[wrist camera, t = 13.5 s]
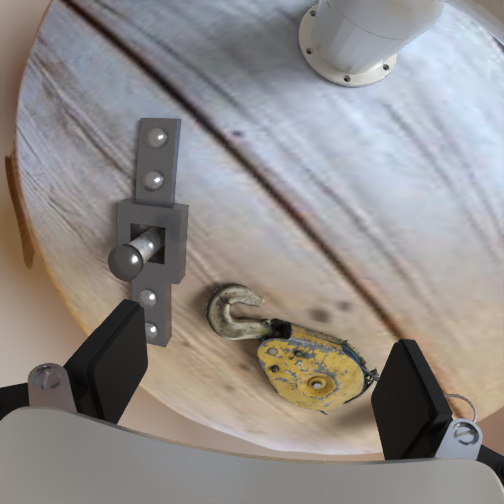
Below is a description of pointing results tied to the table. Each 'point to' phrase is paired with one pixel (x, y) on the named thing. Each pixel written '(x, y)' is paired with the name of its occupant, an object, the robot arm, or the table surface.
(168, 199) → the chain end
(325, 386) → the pulley block
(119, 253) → the steel pin
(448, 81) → the table surface
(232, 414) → the table surface
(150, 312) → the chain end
